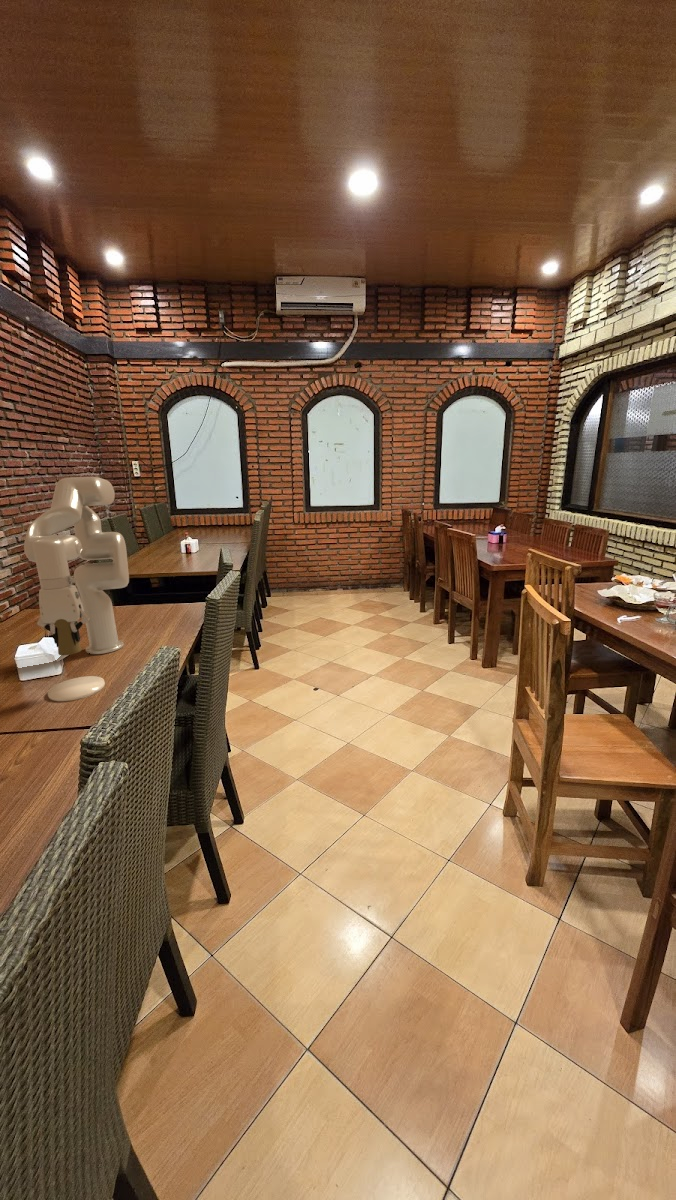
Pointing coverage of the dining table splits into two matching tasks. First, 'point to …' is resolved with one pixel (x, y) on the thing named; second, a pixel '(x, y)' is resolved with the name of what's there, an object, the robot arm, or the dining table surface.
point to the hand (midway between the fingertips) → (68, 644)
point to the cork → (66, 638)
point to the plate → (76, 688)
